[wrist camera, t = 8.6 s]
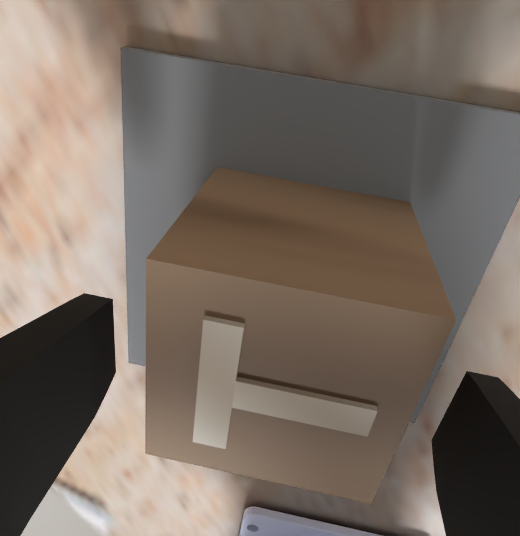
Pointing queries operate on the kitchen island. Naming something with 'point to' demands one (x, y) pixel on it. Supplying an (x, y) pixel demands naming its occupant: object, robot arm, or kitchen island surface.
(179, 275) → the walnut letter cube
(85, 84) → the kitchen island surface
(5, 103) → the kitchen island surface
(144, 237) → the grey flat square slab
